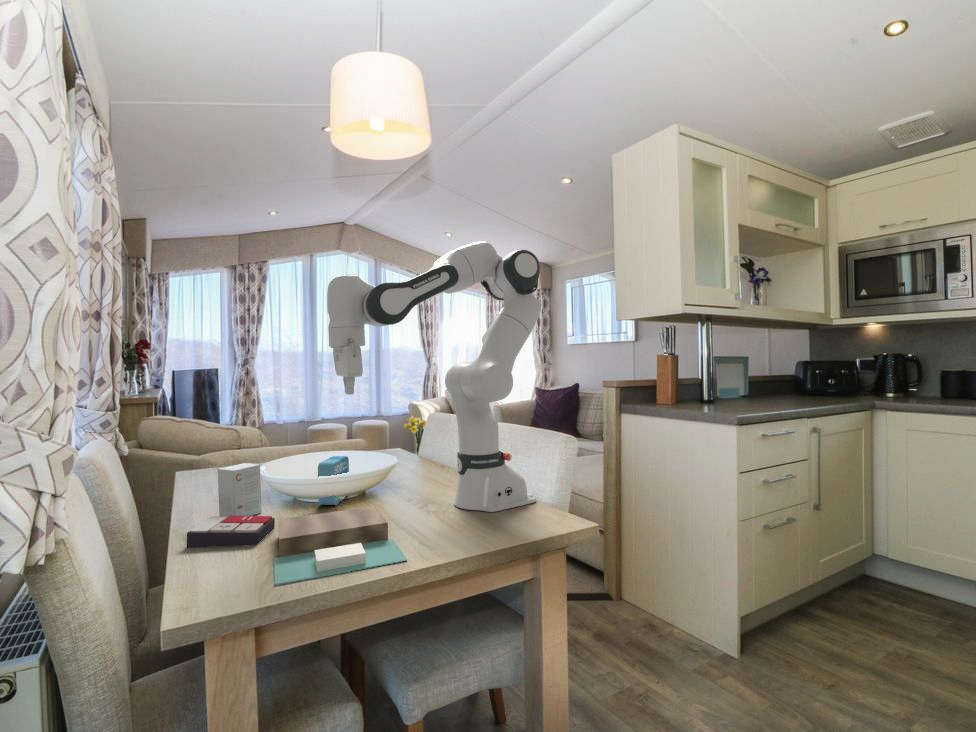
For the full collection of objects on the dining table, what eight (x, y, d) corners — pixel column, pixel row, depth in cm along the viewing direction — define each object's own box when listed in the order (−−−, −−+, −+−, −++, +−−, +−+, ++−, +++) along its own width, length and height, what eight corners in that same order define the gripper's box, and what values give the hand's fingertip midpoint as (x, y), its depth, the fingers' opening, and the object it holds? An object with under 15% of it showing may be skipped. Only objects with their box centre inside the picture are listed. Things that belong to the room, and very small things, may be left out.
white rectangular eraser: (365, 552, 96) (366, 563, 96) (360, 542, 102) (361, 552, 102) (316, 561, 92) (317, 571, 92) (314, 550, 98) (314, 560, 98)
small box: (246, 510, 134) (244, 462, 134) (262, 513, 132) (260, 464, 131) (218, 519, 127) (216, 468, 127) (234, 522, 124) (233, 470, 124)
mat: (392, 539, 109) (392, 538, 109) (407, 561, 97) (407, 559, 97) (274, 559, 100) (274, 558, 100) (274, 585, 88) (274, 584, 88)
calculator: (257, 530, 108) (185, 529, 107) (256, 549, 108) (185, 549, 107) (275, 514, 119) (210, 513, 118) (275, 532, 119) (210, 531, 118)
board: (375, 522, 122) (375, 506, 122) (388, 540, 109) (387, 522, 109) (278, 536, 113) (278, 519, 113) (279, 558, 100) (279, 539, 100)
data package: (334, 507, 136) (333, 463, 135) (318, 507, 136) (317, 463, 136) (349, 495, 148) (348, 455, 147) (335, 495, 148) (334, 455, 148)
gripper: (367, 337, 117) (370, 395, 117) (353, 341, 136) (355, 391, 136) (340, 337, 114) (343, 397, 115) (329, 341, 133) (331, 392, 133)
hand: (349, 394), depth 125 cm, fingers closed
